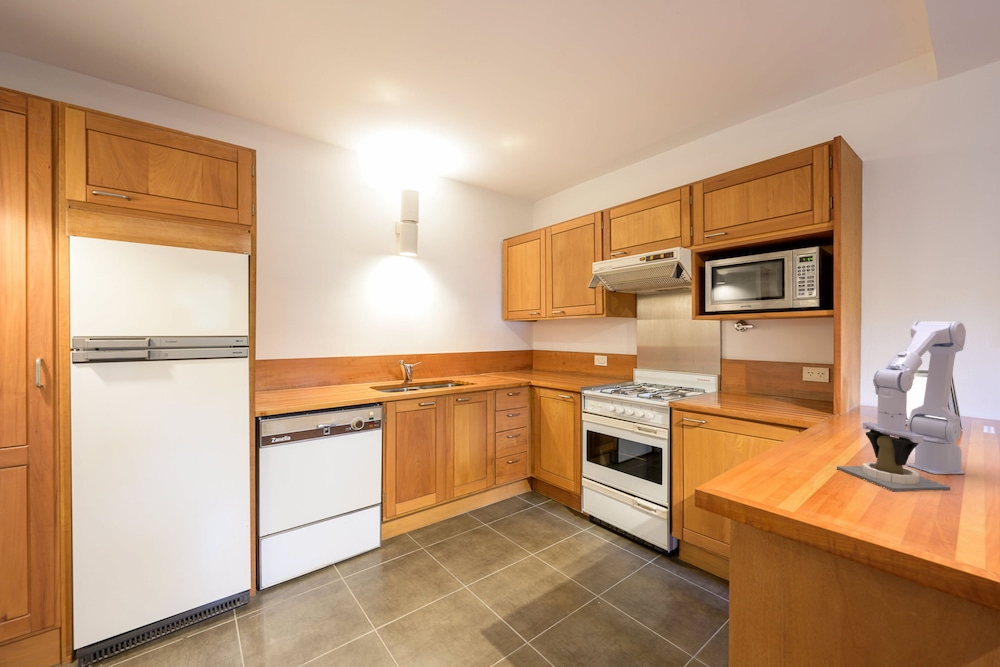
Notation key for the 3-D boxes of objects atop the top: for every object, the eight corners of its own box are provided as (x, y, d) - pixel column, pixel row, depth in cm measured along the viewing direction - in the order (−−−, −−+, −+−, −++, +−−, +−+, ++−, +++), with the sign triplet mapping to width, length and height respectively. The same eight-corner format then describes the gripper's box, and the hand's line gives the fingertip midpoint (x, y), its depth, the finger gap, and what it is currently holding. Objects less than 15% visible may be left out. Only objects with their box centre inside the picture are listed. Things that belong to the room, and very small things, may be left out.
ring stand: (887, 468, 121) (887, 458, 120) (950, 490, 105) (950, 479, 105) (836, 469, 120) (837, 459, 119) (892, 491, 104) (893, 480, 103)
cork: (891, 472, 115) (892, 434, 114) (910, 480, 109) (911, 440, 108) (868, 471, 115) (869, 433, 115) (886, 479, 109) (887, 439, 109)
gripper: (853, 407, 119) (852, 453, 119) (906, 419, 104) (904, 471, 104) (875, 407, 119) (874, 452, 119) (931, 418, 105) (929, 470, 105)
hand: (890, 461), depth 112 cm, fingers closed on cork, 5 cm apart
